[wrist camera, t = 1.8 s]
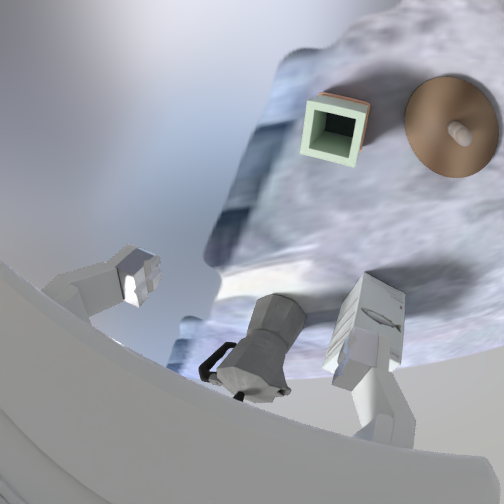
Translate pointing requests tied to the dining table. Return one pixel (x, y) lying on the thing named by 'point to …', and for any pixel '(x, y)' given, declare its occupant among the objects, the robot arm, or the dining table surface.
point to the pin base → (433, 126)
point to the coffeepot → (258, 352)
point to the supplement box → (370, 318)
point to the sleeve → (331, 143)
